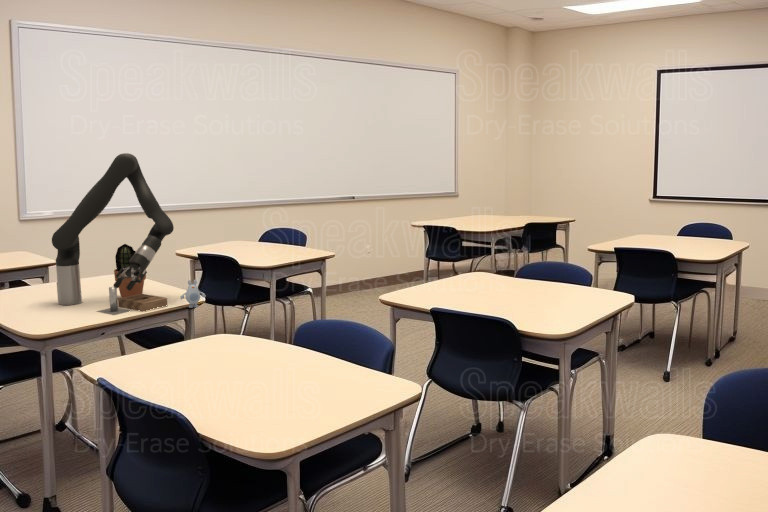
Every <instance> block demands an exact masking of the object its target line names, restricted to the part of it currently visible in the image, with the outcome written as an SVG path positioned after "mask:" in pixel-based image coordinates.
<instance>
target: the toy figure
mask: <svg viewBox="0 0 768 512" xmlns="http://www.w3.org/2000/svg"><path fill="white" fill-rule="evenodd" d="M197 283H198V281H197V279H194V280H193V283H192V281H191V280H190V279H188V281H187V284H188V287H187V288H186V292H185V293H183V294H182V295H181V296H180V298H179V299H180V301H181V300H183V299H185V300H186V302H187V303H188V304H189V305H188V308H189V309H192V308H199V305H198V303H199V302H200V300H201V297H202V298H203V299H204V298H206V297H207V295H206V294H205V293H204V292H202V291H200V289H199V288H198V286H197Z"/></svg>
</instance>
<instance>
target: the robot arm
mask: <svg viewBox="0 0 768 512" xmlns="http://www.w3.org/2000/svg"><path fill="white" fill-rule="evenodd" d="M125 179H127V180H128V181H129V183H130V185H131V186H132V188H133V191H134V192H135V196H136V197H137V201H138V203H139V205H140V207H141V208H142V211H143V212H144V214H145V215H146V217H147V218H148V219H150V220H152V221H153V222H154V224H153V226H152V227H151V229H150V230H149V233H148V234H147V237H145V239H144V240H143V242H142V244H141V245H140V246H139V247H138V248H137V250H135V251H136V252H135V254H134V255H133V256H132V258H131V259H130V261H129V263H130V265H129V266H128V267H125V266H123V267H122V268H121V269H120V271H119V272H118V273H117V274H116V277H117V278H118V279H117V280H116V281H115V282H114V283H113V286H112V287H117V289H119V288H118V287H119V286H120V284H121V283H122V281H123V280H125V279H128V278H132V281H130V282H129V284H128V285H127V287H126V289H127V290H129V291H130V290H131V289H132V288H133V287H134V285H135V284H137V283H141V281H142V280H143V278H144V276H145V275H146V276H147V274H148V272H147V268H148V267H149V266H150V264H151V262H152V261H153V260H154V258H155V255H156V254H157V253H158V251H159V250H160V249H161V248H160V247H162V241H164V239H165V237H166V236H169V235H171V234H172V233H173V231H174V228H175V227H174V224H173V221H172V220H171V218H170V216H168V215H167V213H165V211H164V210H163V209H162V207H161V205H160V203H159V201H157V199H156V197H155V195H154V193H153V192H152V189H151V188H150V187H149V185H148V183H147V181H146V179H145V176H144V174H143V172H142V169H141V166H140V163H139V161H138V159H137V157H136V156H135V155H133V154H132V153H128V152H127V153H126V152H125V153H119V154H118V155H116V157H115V158H113V160H112V162H111V163H110V165H109V167H108V169H107V170H106V171H105V173H104V174H103V176H102V177H101V178H100V179H99V180H98V181H97V182H96V183H95V184H94V185H93V186H92V187H91V188H90V190H88V192H87V193H86V194H85V195H84V196H83V198H82V200H80V202H79V203H78V204H77V206H76V207H75V209H74V211H72V213H71V215H70V216H69V218H67V220H65V222H64V223H63V224H62V225H61V226H60V227H58V229H56V230H55V232H54V233H53V234H52V237H51V244H52V246H53V248H54V249H56V250H57V255H56V258H55V266H56V267H55V270H56V280H57V281H56V290H57V291H56V292H57V302H58V304H59V305H60V306H72V305H73V304H74V305H78V304H81V303H82V302H83V299H82V298H83V297H82V284H81V271H80V269H81V268H80V258H81V257H80V256H81V251H80V250H81V249H80V237H79V235H80V234H81V232H83V230H84V229H85V227H87V226H88V225H89V224H90V223H92V222H93V221H94V220H95V219H96V218H97V217H98V216H99V215H100V214H101V213H102V212H103V211H104V210H105V208H106V207H107V206H108V204H109V203H110V202H111V200H112V198H113V196H114V194H115V193H116V190H117V189H118V187H119V186H120V185H121V183H123V181H125ZM120 273H121V275H120ZM125 273H126V275H125ZM122 277H123V278H122ZM139 277H140V279H139ZM74 305H73V306H74Z"/></svg>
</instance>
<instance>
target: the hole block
mask: <svg viewBox="0 0 768 512" xmlns="http://www.w3.org/2000/svg"><path fill="white" fill-rule="evenodd" d="M117 302H118V308H122V309H127V310H132V309H133V310H134V311H138V310H140V311H139V312H143V311H145V312H147V311H146V310H150V309H153V308H157V307H162V306H166V305H167V306H168V298H167V297H163V296H157V295H152V294H151V295H150V294H146V293H142V294H137V295H133V296H128V297H123V298H121V297H119V298H118V297H117ZM167 306H166V307H167ZM162 308H163V307H162ZM133 310H132V311H133ZM150 311H151V310H150Z"/></svg>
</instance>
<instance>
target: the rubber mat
mask: <svg viewBox="0 0 768 512" xmlns="http://www.w3.org/2000/svg"><path fill="white" fill-rule="evenodd" d="M130 310H131V309H127V308H122V307H118V311H116V312H110V307H109V308H105V309H100V310H96V311H95V312H97V313H101V314H106V315H112V316H117V315H120V314H125V313H129V311H130ZM130 312H131V311H130Z"/></svg>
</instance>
